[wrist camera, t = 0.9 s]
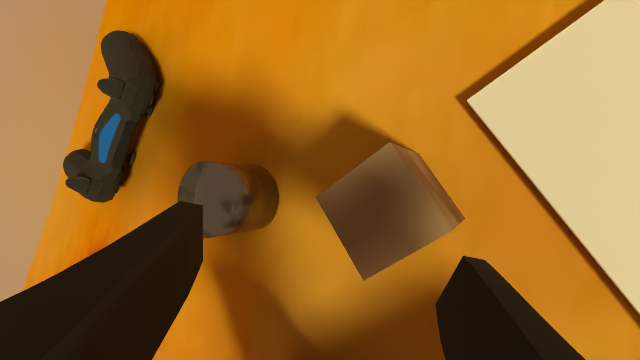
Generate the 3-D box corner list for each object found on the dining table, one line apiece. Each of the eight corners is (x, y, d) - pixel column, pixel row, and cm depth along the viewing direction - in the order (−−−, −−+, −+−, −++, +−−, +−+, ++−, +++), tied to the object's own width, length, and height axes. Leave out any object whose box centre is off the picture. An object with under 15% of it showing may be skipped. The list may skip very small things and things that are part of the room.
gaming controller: (122, 183, 39) (110, 230, 30) (63, 168, 36) (33, 216, 27) (171, 50, 35) (173, 64, 27) (110, 21, 32) (91, 26, 24)
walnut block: (465, 218, 18) (451, 230, 13) (398, 256, 20) (363, 280, 15) (419, 154, 19) (390, 141, 14) (360, 194, 21) (315, 197, 16)
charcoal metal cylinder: (289, 208, 24) (242, 212, 20) (246, 241, 26) (195, 251, 21) (260, 153, 25) (210, 146, 21) (221, 188, 27) (168, 189, 23)
